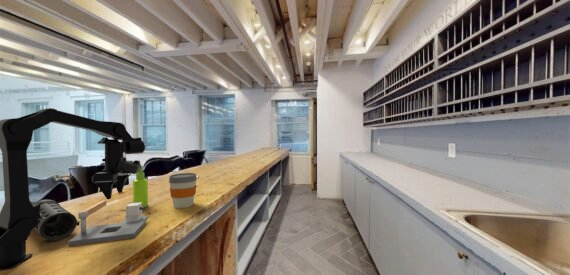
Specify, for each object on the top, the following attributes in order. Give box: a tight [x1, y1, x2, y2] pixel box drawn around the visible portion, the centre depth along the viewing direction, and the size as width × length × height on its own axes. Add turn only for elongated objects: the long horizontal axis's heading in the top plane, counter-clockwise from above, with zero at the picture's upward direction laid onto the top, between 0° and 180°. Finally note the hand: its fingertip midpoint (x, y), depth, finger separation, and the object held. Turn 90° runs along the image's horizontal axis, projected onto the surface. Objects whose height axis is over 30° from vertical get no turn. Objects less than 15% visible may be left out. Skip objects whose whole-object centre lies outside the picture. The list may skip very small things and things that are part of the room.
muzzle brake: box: [33, 199, 81, 241], centre depth 82 cm, size 10×28×10 cm
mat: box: [121, 215, 149, 223], centre depth 89 cm, size 8×8×1 cm
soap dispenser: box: [132, 165, 149, 208], centre depth 107 cm, size 6×7×20 cm
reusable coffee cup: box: [168, 172, 198, 209], centre depth 109 cm, size 13×13×15 cm
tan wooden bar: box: [78, 199, 107, 220], centre depth 81 cm, size 2×15×2 cm, turn 15°
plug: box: [124, 202, 147, 222], centre depth 89 cm, size 5×6×6 cm
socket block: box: [67, 218, 147, 247], centre depth 77 cm, size 12×18×6 cm, turn 106°
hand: (114, 195), depth 84 cm, fingers open, 9 cm apart
